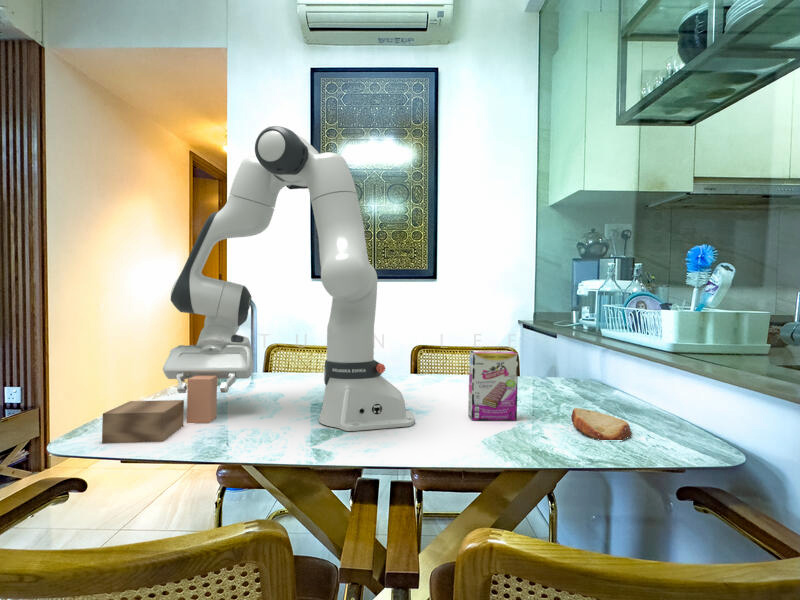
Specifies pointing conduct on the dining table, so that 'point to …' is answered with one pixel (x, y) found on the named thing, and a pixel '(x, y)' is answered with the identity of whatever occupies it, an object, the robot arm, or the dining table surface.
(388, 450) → the dining table surface
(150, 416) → the walnut block
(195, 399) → the terracotta block
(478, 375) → the candy bar box
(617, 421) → the slice of bread
